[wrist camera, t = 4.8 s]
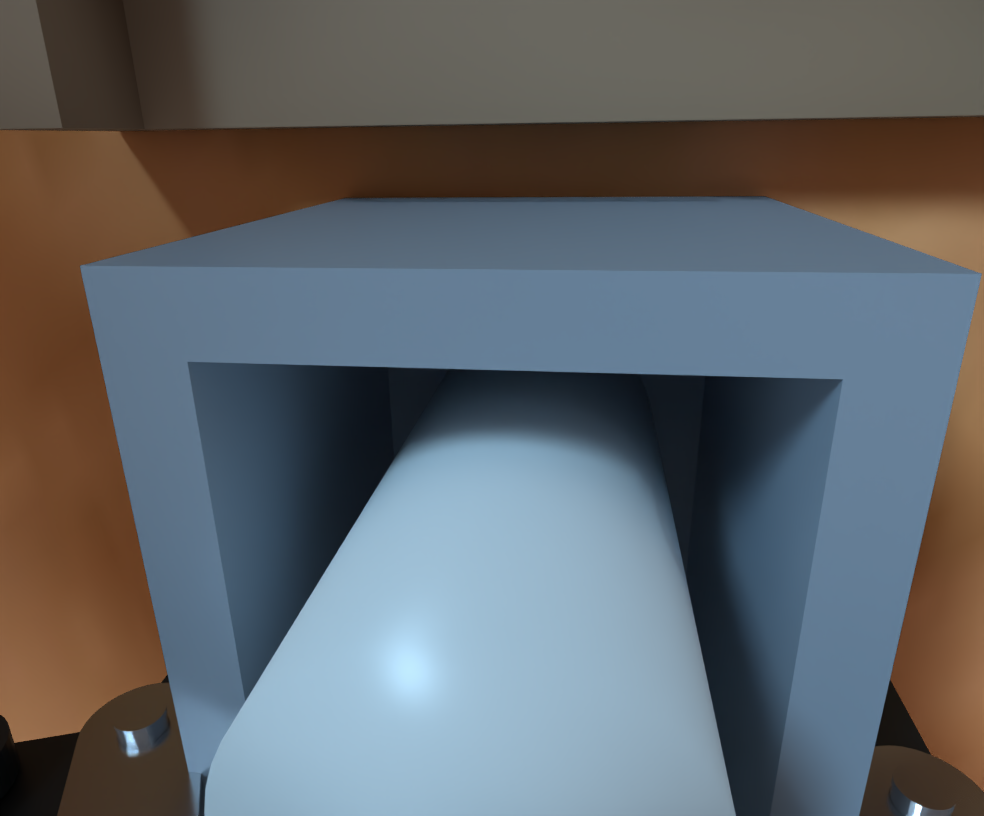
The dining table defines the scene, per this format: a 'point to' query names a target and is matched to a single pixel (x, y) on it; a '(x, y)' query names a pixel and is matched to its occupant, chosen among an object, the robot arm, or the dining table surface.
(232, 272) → the caddy
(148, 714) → the robot arm
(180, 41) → the shelf
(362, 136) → the dining table surface
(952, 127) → the dining table surface
